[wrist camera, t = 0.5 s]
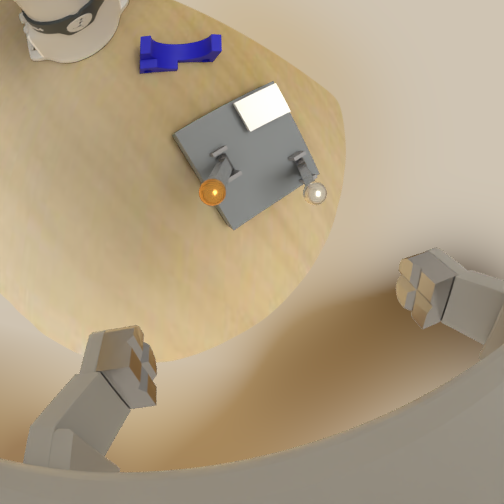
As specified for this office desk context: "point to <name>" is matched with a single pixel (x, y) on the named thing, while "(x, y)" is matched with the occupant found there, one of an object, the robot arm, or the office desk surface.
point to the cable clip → (176, 53)
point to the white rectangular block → (261, 107)
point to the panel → (246, 158)
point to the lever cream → (311, 185)
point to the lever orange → (216, 182)
